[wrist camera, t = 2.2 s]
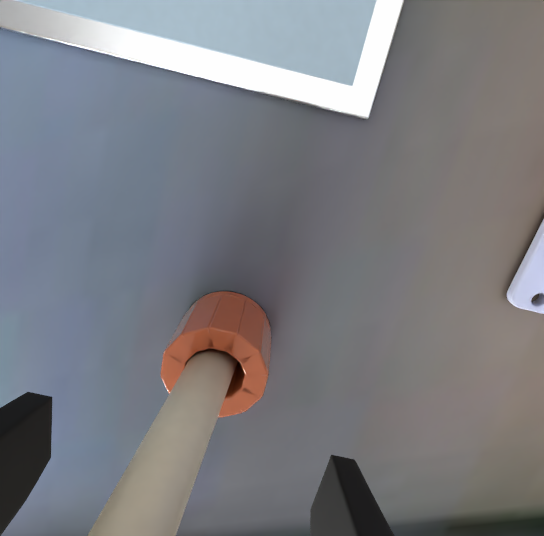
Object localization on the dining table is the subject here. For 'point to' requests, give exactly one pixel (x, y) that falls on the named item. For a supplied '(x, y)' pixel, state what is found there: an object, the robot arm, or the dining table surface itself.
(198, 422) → the stylus
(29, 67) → the dining table surface
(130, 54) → the tablet
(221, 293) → the pen holder
